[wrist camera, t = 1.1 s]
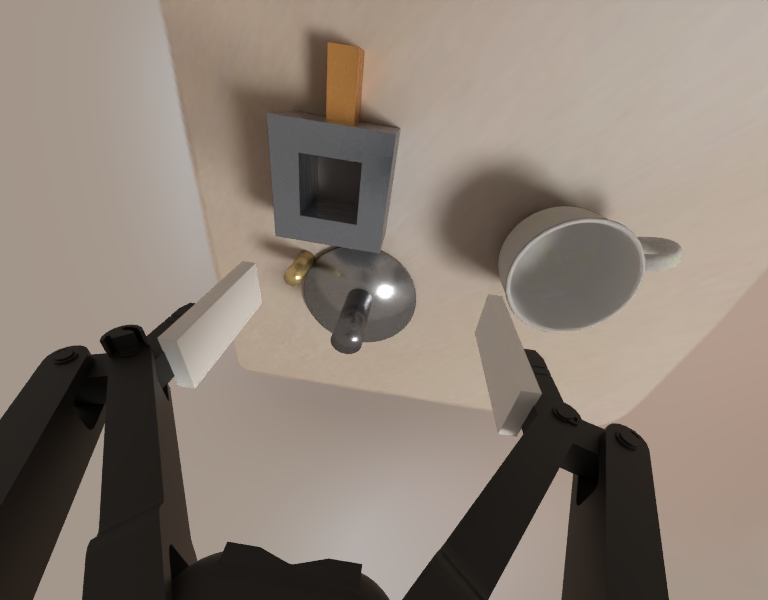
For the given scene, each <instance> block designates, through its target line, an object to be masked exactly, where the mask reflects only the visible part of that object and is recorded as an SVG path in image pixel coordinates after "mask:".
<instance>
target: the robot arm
mask: <svg viewBox="0 0 768 600" xmlns="http://www.w3.org/2000/svg"><path fill="white" fill-rule="evenodd" d="M261 304H262V299H261V293H260V287H259V281H258V275H257V268H256V263H251V262H244V261H242V262H241V263H240V264H239V265H238V266H237V267H236V268H235V269H233V270H232V271H231V272H230V273H229V274H228V275H227V276H226V277H225V278H223V279H222V280H221V281H220V282H219V283H218V284H217V285H216V286H215V287H213V288H212V289H211V290H210V291H209V292H208V293H207V294H206V295H205V296H204V297H202V298H201V299H200V300H199V301H198V302H197V303H196V304H195V303H189V304H187V305H185V306H183V307H181V308H179V309H178V310H177V311H176V312H174V313H173V314H172V315H171V317H168V318H167V319H166V320H165V322H163V323H162V324H160V325H159V326H158V327H157V328H156V329H155V330H153V331H152V332H151V333H150V334H149V335H148V336H146V335H145V333H144V331H143V329H142V327H140V326H138V325H125V326H121V327H117V328H114V329H112V330H110V331H108V332H107V333H105V334H104V335H103V336H102V337H101V339H100V343H101V344H102V346H103V348H104V350H105V351H106V353H105V354H94V355H91V354H90V352H89V350H88V349H87V348H86V347H84V346H70V347H65V348H63V349H59V350H57V351H55V352H53V353H52V354H50V355H48V356H47V357H46V358H45V359H44V360H43V361H42V362H41V364H40V365H39V367H38V368H37V369H36V371H35V372H34V373H33V375H32V376H31V378H30V379H29V381H28V382H27V383H26V385H25V386H24V387H23V389H22V390H21V392H20V393H19V394H18V396H17V397H16V399H15V400H14V401H13V403H12V404H11V405H10V407H9V408H8V410H7V411H6V412H5V414H4V415H3V417H2V418H1V420H0V600H33V598H34V595H35V593H36V591H37V588H38V586H39V583H40V581H41V578H42V576H43V574H44V571H45V569H46V566H47V564H48V561H49V559H50V556H51V554H52V551H53V549H54V547H55V544H56V542H57V539H58V537H59V534H60V532H61V529H62V527H63V524H64V522H65V520H66V517H67V514H68V512H69V510H70V507H71V505H72V502H73V500H74V497H75V495H76V493H77V490H78V488H79V485H80V483H81V480H82V478H83V475H84V473H85V470H86V468H87V466H88V463H89V460H90V458H91V456H92V453H93V451H94V448H95V446H96V444H97V441H98V439H99V436H100V434H101V431H102V429H103V426H104V424H105V434H104V452H103V468H102V486H101V503H100V521H99V532H98V535H97V537H95V538H94V539H92V540H90V542H89V545H88V547H87V552H86V559H85V573H84V584H83V596H82V600H389V598H388V597H387V595H386V594H385V593H384V591H383V590H382V589H381V588H380V587H379V586H378V585H377V584H376V583H375V582H374V581H373V580H372V579H370V578H369V577H367V576H366V575H364V574H362V573H361V569H362V564H357V563H352V562H346V561H339V560H334V559H324V560H318V561H312V562H306V563H300V564H289V563H287V562H285V561H283V560H281V559H280V558H278V557H276V556H274V555H273V554H271V553H269V552H267V551H266V550H264V549H262V548H260V547H255V546H250V545H244V544H238V543H232V542H227V544H226V546H225V549H224V551H223V552H219V553H216V554H213V555H210V556H208V557H205V558H203V559H200V560H199V561H197V558H196V554H195V551H194V548H193V545H192V541H191V536H190V529H189V522H188V514H187V507H186V500H185V493H184V486H183V479H182V472H181V464H180V458H179V449H178V442H177V435H176V428H175V420H174V413H173V406H172V399H171V391H170V387H169V385H168V383H169V382H170V380H171V379H172V378H173V377H174V378H175V380H176V382H177V384H178V386H183V387H189V388H196V387H197V385H198V384H199V383H200V381H201V380H202V379H203V378H204V376H205V375H206V374H207V372H208V371H209V370H210V369H211V367H212V366H213V365H214V364H215V362H216V361H217V360H218V359H219V357H220V356H221V355H222V353H223V352H224V351H225V350H226V348H227V347H228V346H229V344H230V343H231V342H232V341H233V339H234V338H235V337H236V336H237V334H238V333H239V332H240V331H241V329H242V328H243V327H244V325H245V324H246V323H247V322H248V320H249V319H250V318H251V317H252V315H253V314H254V313H255V311H256V310H257V309H258V308H259V306H260V305H261ZM475 335H476V339H477V343H478V348H479V352H480V357H481V361H482V365H483V370H484V374H485V378H486V383H487V387H488V391H489V396H490V400H491V405H492V409H493V413H494V418H495V421H496V426H497V430H498V434H503V435H510V436H517V435H518V433H519V432H520V430H521V428H522V431H523V436H522V437H521V439H520V440H519V441H518V443H517V444H516V445H515V447H514V448H513V450H512V451H511V452H510V454H509V455H508V456H507V458H506V459H505V461H504V462H503V463H502V465H501V466H500V467H499V469H498V470H497V472H496V473H495V474H494V476H493V477H492V479H491V480H490V481H489V483H488V484H487V485H486V487H485V488H484V490H483V491H482V492H481V494H480V495H479V497H478V498H477V499H476V501H475V502H474V503H473V505H472V506H471V508H470V509H469V510H468V512H467V513H466V514H465V516H464V517H463V519H462V520H461V521H460V523H459V524H458V526H457V527H456V528H455V530H454V531H453V533H452V534H451V535H450V537H449V538H448V539H447V541H446V542H445V544H444V545H443V546H442V547H441V549H440V550H439V551H438V552H437V553H436V554H435V555H434V557H433V558H432V560H431V561H430V562H429V564H428V565H427V566H426V568H425V569H424V570H423V572H422V573H421V575H420V576H419V577H418V579H417V580H416V582H415V583H414V584H413V586H412V587H411V588H410V590H409V591H408V593H407V594H406V595H405V597H404V598H403V599H402V600H488V599H489V597H490V595H491V593H492V591H493V589H494V588H495V586H496V584H497V582H498V580H499V578H500V576H501V575H502V573H503V571H504V569H505V567H506V565H507V564H508V562H509V560H510V558H511V556H512V554H513V552H514V551H515V549H516V547H517V545H518V543H519V541H520V540H521V538H522V536H523V534H524V532H525V530H526V528H527V527H528V525H529V523H530V521H531V519H532V518H533V516H534V514H535V512H536V510H537V508H538V506H539V505H540V503H541V501H542V499H543V497H544V495H545V494H546V492H547V490H548V488H549V486H550V484H551V482H552V481H553V479H554V477H555V475H556V473H557V471H558V469H559V468H563V469H565V470H567V471H569V472H571V473H573V482H572V493H571V504H570V514H569V525H568V537H567V547H566V558H565V569H564V580H563V590H562V600H669V597H668V589H667V581H666V574H665V566H664V559H663V551H662V543H661V536H660V529H659V521H658V513H657V505H656V499H655V491H654V483H653V475H652V468H651V460H650V452H649V448H648V446H647V444H646V442H645V441H644V440H643V438H642V437H641V436H640V435H638V434H637V433H636V432H635V431H633V430H632V429H630V428H628V427H626V426H624V425H621V424H610V425H608V426H607V427H606V428H605V429H603V428H600V427H598V426H595V425H593V424H590V423H588V422H586V421H583V420H582V419H581V417H580V415H579V414H578V413H577V411H576V410H575V409H573V408H572V407H571V406H570V405H568V404H566V403H564V402H563V400H562V398H561V396H560V394H559V391H558V389H557V387H556V385H555V383H554V381H553V379H552V377H551V374H550V372H549V370H548V369H547V366H546V364H545V362H544V359H543V358H542V357H541V356H540V355H539V354H538V353H537V352H536V351H535V350H529V349H523V346H522V344H521V341H520V339H519V336H518V334H517V331H516V329H515V327H514V324H513V322H512V319H511V317H510V314H509V312H508V309H507V307H506V305H505V302H504V300H503V297H502V296H497V295H489V294H488V296H487V299H486V302H485V305H484V308H483V311H482V314H481V317H480V320H479V322H478V325H477V328H476V331H475Z"/></svg>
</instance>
